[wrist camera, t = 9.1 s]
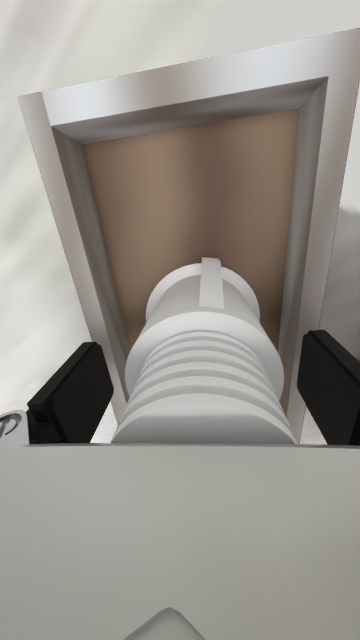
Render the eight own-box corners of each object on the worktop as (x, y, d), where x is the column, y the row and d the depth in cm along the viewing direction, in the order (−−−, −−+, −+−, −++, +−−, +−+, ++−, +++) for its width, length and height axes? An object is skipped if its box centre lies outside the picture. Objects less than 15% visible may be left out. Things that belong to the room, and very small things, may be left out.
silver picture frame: (316, 85, 10) (369, 26, 7) (279, 430, 19) (294, 472, 16) (67, 129, 12) (16, 96, 8) (142, 430, 21) (131, 469, 17)
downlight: (244, 376, 16) (306, 584, 7) (146, 364, 16) (73, 548, 7) (271, 259, 13) (459, 347, 3) (148, 248, 13) (23, 302, 4)
